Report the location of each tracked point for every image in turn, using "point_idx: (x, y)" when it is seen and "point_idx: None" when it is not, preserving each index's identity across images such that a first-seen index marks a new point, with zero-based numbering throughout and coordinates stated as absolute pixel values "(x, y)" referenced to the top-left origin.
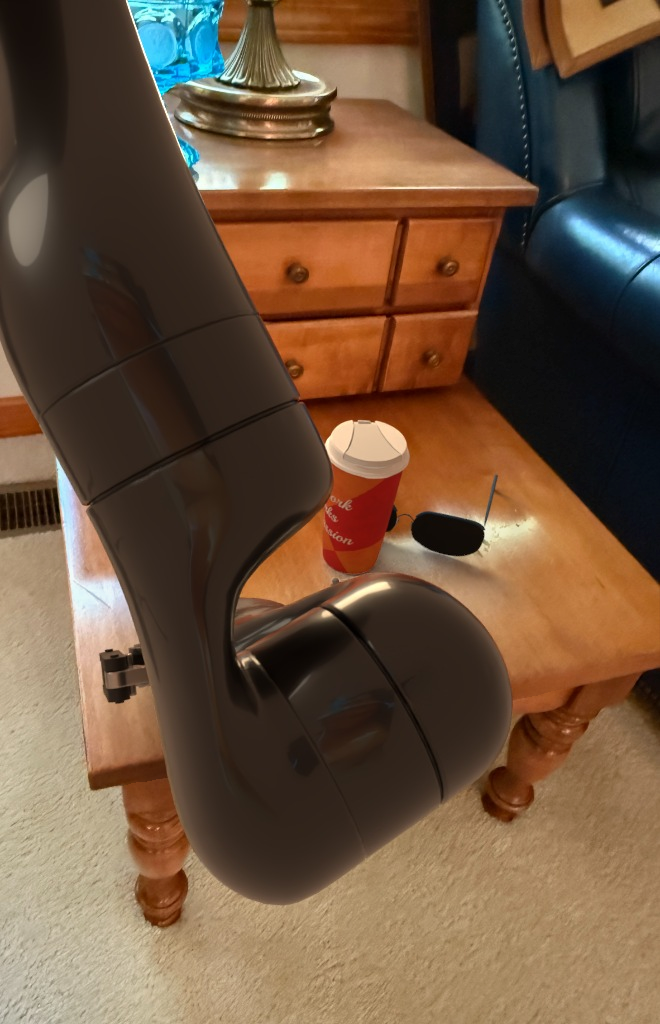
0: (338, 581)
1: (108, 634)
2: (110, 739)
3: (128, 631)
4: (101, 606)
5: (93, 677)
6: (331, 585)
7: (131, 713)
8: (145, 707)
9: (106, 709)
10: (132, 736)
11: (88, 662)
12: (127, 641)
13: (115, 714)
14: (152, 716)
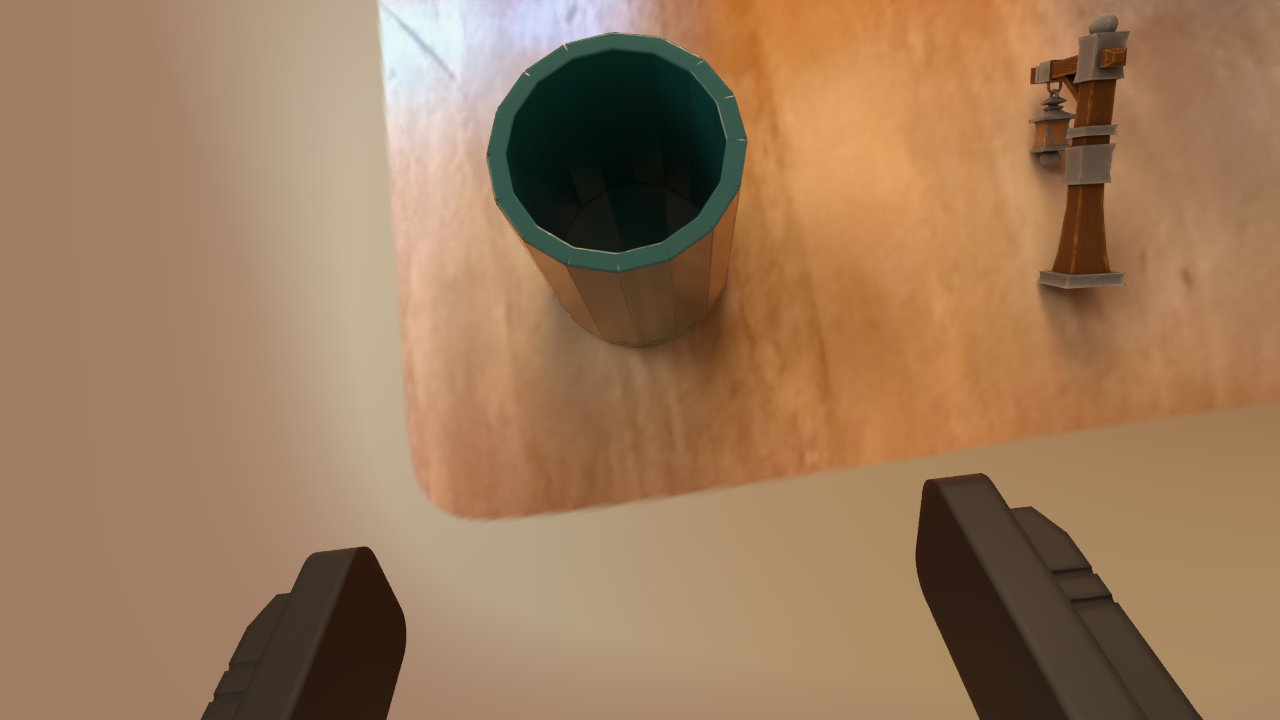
0: (1115, 28)
1: (448, 158)
2: (447, 466)
3: None
4: (432, 73)
5: (411, 284)
6: (1084, 40)
7: (497, 396)
8: (530, 381)
9: (439, 380)
10: (498, 463)
11: (400, 240)
12: None
13: (460, 396)
14: (546, 409)
